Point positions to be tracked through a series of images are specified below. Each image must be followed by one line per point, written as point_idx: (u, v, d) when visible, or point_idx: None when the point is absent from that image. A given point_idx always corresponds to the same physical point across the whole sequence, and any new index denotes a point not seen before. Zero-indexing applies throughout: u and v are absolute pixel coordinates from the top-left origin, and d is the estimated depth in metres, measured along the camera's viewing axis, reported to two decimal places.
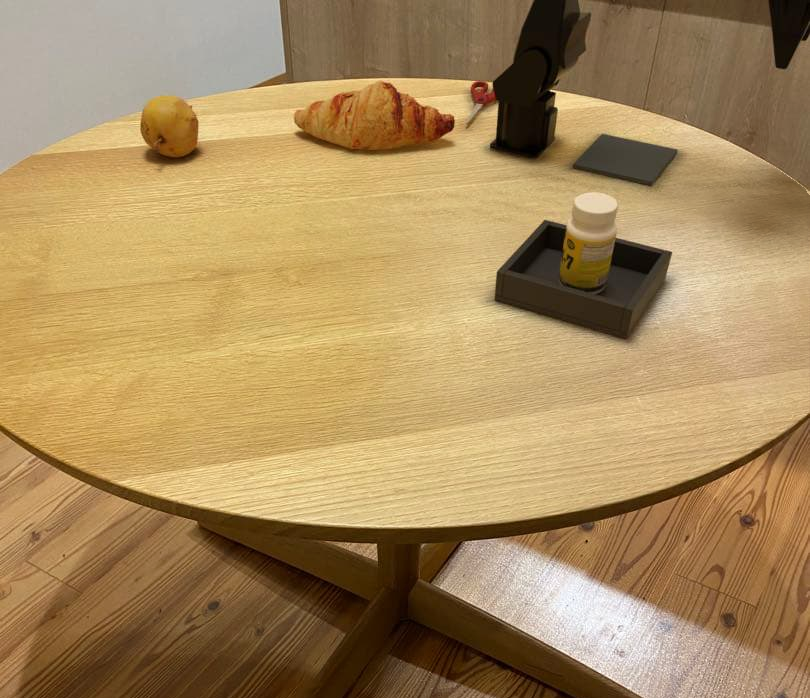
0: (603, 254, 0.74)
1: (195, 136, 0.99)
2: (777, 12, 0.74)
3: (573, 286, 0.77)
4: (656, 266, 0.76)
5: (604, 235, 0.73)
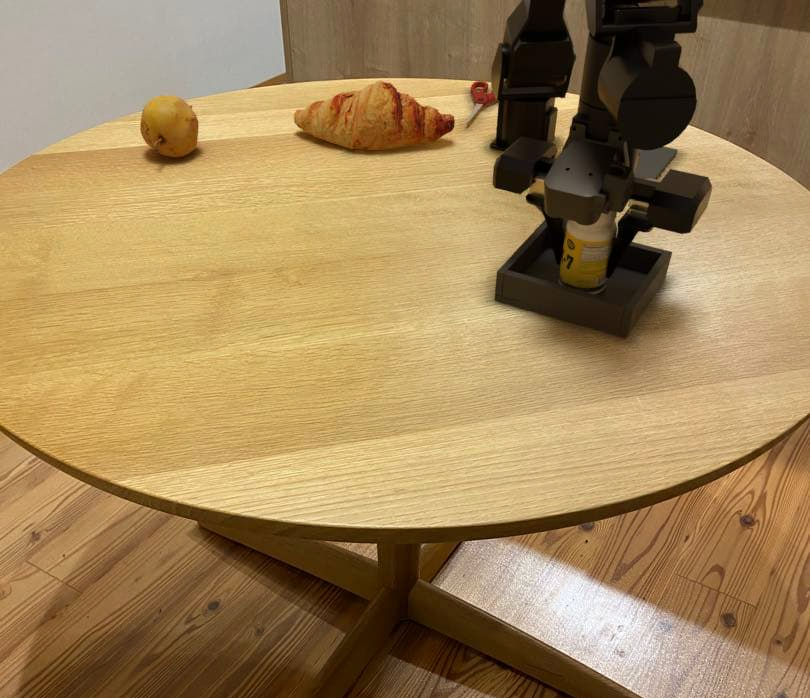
0: (603, 254, 0.74)
1: (195, 136, 0.99)
2: None
3: (573, 286, 0.77)
4: (656, 266, 0.76)
5: (604, 235, 0.73)
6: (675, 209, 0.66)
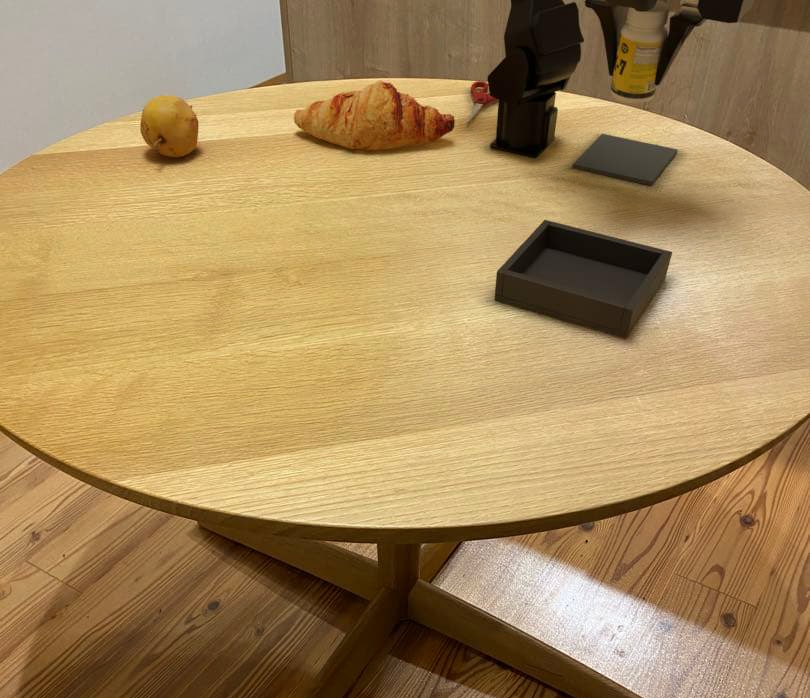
0: (654, 57, 0.81)
1: (195, 136, 0.99)
2: None
3: (625, 92, 0.83)
4: (656, 266, 0.76)
5: (656, 37, 0.79)
6: None
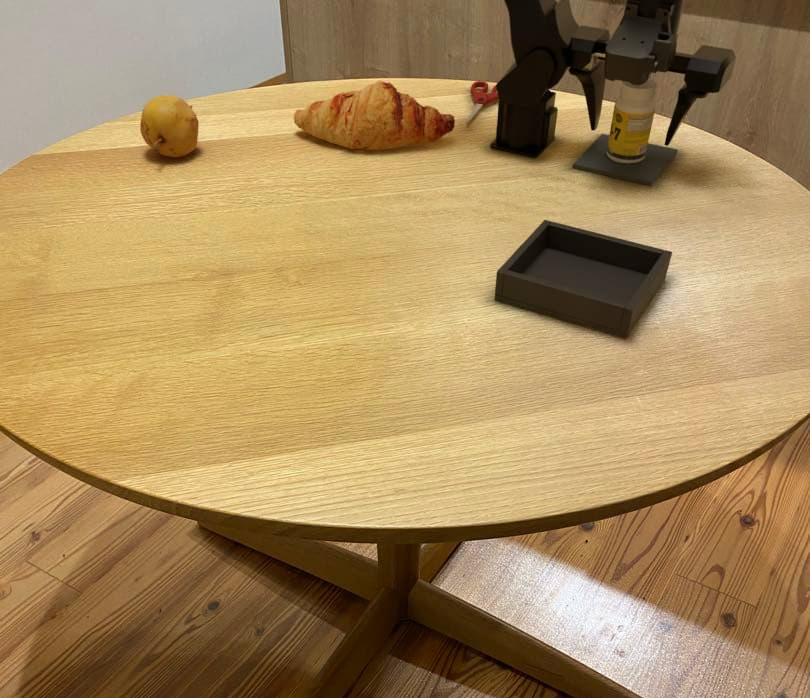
0: (645, 125, 0.93)
1: (195, 136, 0.99)
2: None
3: (619, 155, 0.96)
4: (656, 266, 0.76)
5: (646, 109, 0.92)
6: (707, 72, 0.85)
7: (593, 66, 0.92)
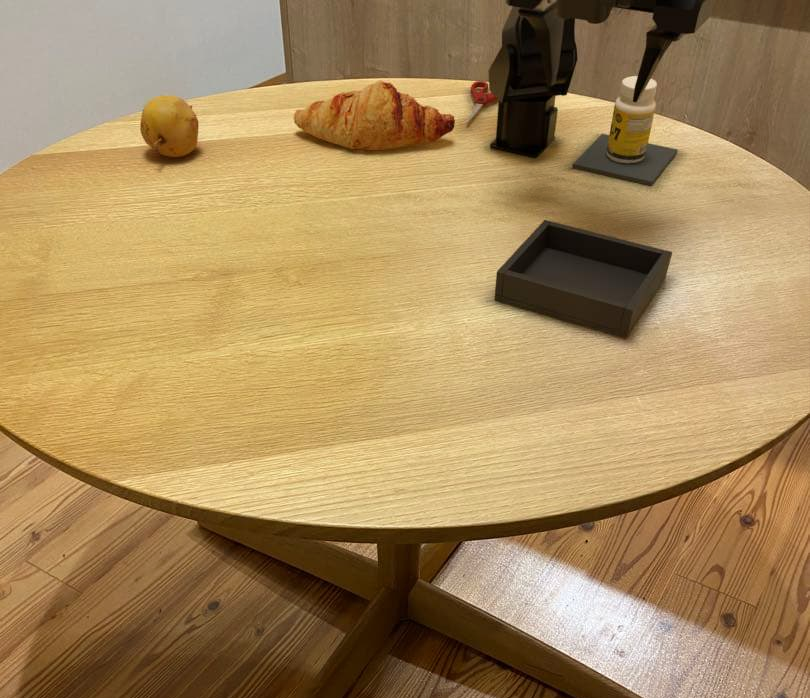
0: (645, 125, 0.93)
1: (195, 136, 0.99)
2: None
3: (619, 155, 0.96)
4: (656, 266, 0.76)
5: (646, 109, 0.92)
6: (680, 8, 0.70)
7: (547, 6, 0.77)
